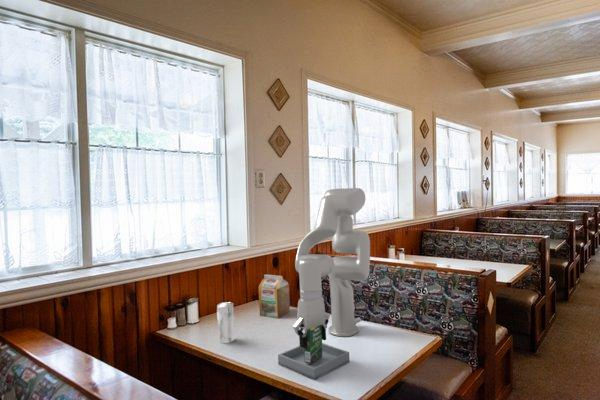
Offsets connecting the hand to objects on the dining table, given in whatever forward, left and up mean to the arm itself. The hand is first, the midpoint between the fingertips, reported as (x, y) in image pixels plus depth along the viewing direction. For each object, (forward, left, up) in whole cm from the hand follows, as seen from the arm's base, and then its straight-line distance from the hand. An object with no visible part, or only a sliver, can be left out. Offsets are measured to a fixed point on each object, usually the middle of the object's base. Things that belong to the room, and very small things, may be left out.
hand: (313, 343), depth 144 cm
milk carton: (-27, -53, -7) cm, 60 cm away
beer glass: (+8, -42, -7) cm, 43 cm away
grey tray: (0, 0, -7) cm, 7 cm away
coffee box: (0, 0, -6) cm, 6 cm away
